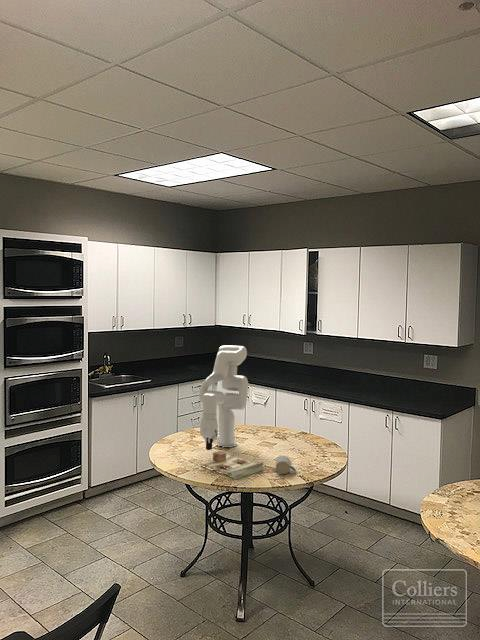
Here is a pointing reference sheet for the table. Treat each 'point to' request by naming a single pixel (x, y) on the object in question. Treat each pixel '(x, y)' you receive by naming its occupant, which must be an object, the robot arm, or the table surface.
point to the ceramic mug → (284, 465)
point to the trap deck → (234, 466)
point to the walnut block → (219, 456)
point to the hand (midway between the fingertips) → (209, 449)
